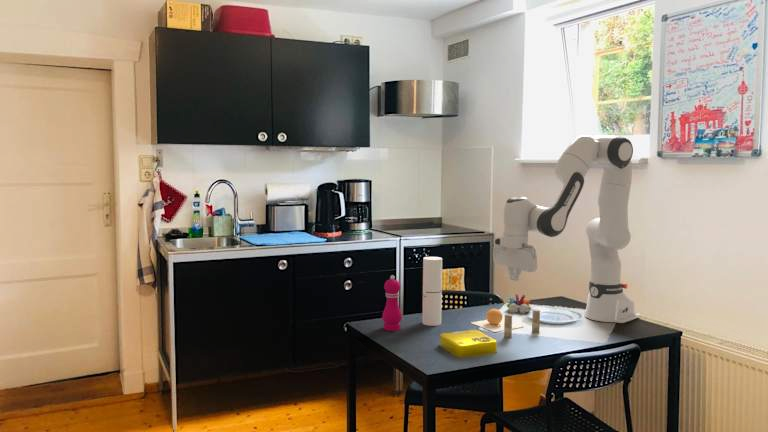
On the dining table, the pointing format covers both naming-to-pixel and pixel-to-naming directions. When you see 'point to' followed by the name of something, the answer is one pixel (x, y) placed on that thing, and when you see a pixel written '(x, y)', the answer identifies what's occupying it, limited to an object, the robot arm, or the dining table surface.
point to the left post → (508, 326)
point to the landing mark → (494, 328)
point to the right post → (535, 321)
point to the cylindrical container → (432, 291)
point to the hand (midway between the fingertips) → (514, 279)
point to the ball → (494, 316)
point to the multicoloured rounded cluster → (514, 305)
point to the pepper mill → (392, 305)
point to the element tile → (468, 343)
